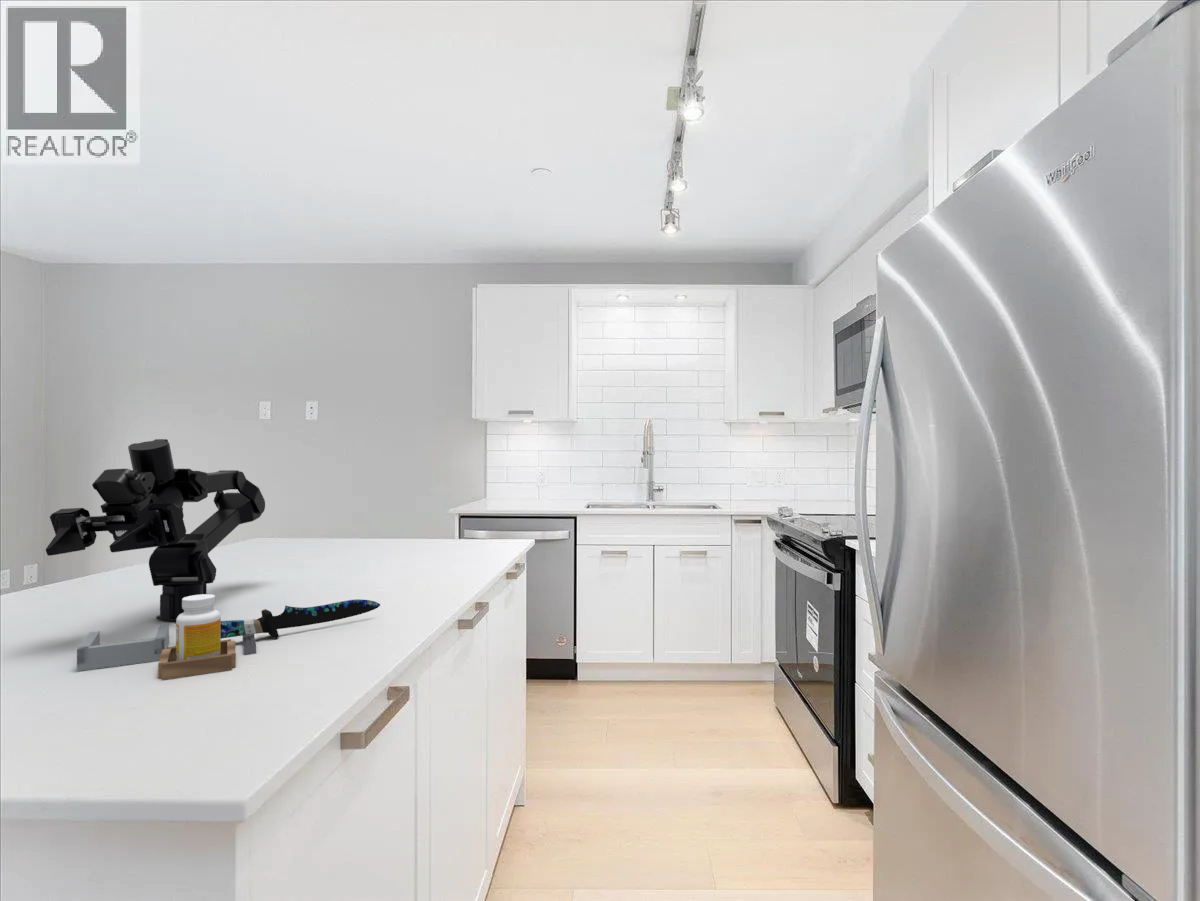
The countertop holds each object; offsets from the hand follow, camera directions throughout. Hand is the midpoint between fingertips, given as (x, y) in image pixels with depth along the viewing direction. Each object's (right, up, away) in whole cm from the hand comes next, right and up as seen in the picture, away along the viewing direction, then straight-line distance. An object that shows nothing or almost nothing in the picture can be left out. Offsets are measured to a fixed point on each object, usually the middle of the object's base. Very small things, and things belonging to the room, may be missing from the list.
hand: (79, 550), depth 94 cm
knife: (+24, -16, +14) cm, 32 cm away
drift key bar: (+21, -16, +7) cm, 27 cm away
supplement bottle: (+18, -16, -2) cm, 25 cm away
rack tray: (+5, -16, +2) cm, 17 cm away
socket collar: (+18, -16, -2) cm, 24 cm away
